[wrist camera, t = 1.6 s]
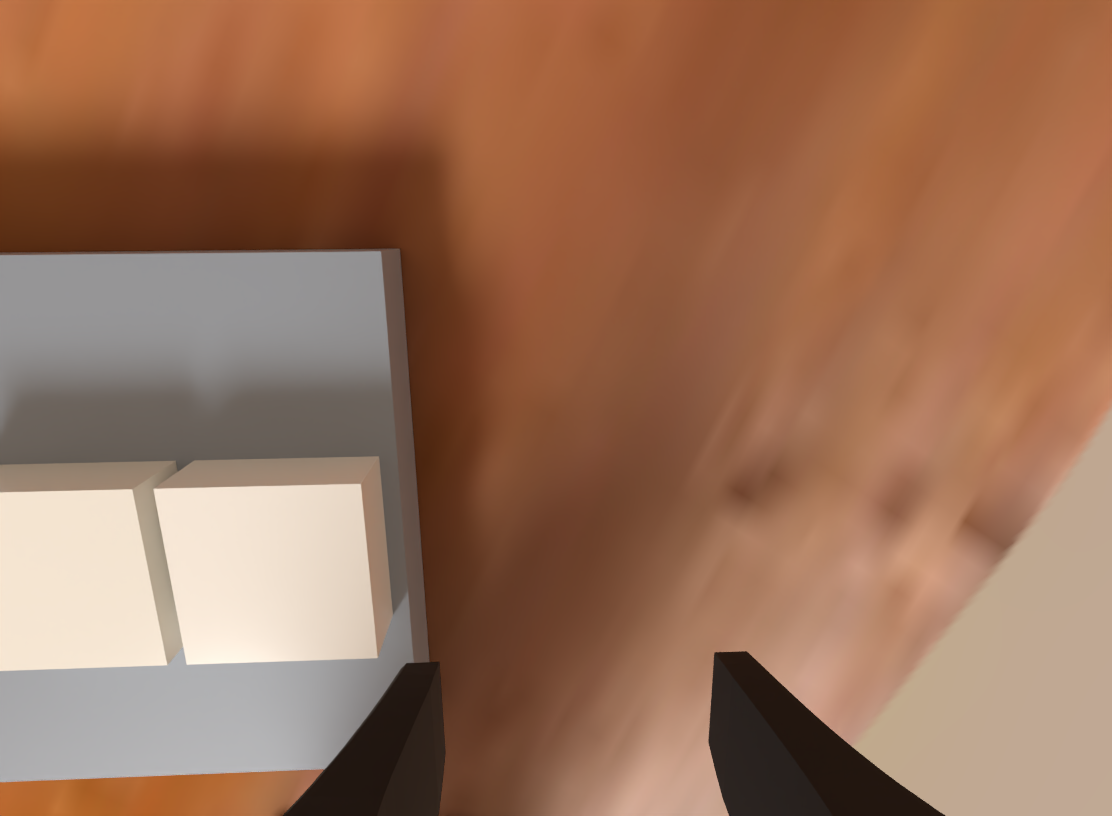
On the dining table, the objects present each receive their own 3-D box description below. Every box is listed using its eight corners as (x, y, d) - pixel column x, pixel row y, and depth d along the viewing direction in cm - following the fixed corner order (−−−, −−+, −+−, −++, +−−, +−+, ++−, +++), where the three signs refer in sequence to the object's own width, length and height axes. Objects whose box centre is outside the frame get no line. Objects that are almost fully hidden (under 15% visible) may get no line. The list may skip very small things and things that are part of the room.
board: (433, 708, 23) (421, 765, 21) (0, 725, 22) (-63, 784, 20) (400, 248, 19) (381, 251, 16) (-136, 253, 18) (-238, 257, 16)
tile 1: (392, 614, 19) (377, 658, 17) (221, 620, 19) (186, 664, 17) (379, 456, 18) (361, 483, 16) (194, 460, 18) (152, 488, 16)
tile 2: (203, 620, 19) (167, 665, 17) (28, 626, 19) (-29, 671, 17) (175, 460, 18) (132, 489, 16) (-14, 465, 17) (-81, 494, 15)
